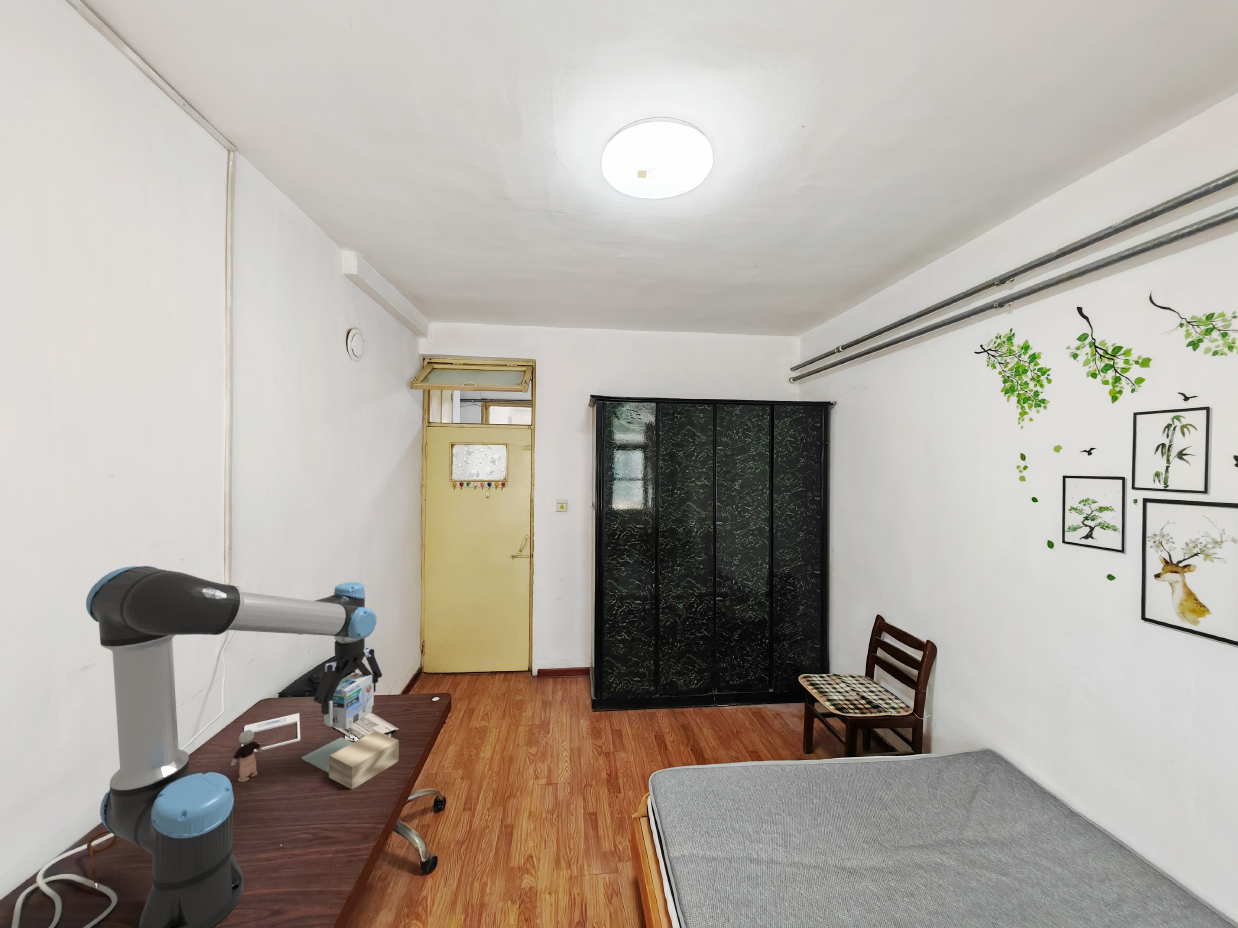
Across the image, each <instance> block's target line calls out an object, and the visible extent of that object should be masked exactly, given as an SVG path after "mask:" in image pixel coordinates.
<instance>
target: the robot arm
mask: <svg viewBox="0 0 1238 928" xmlns="http://www.w3.org/2000/svg"><path fill="white" fill-rule="evenodd" d="M365 592H366V591H365V586H364V584H362V583H361V582H358V581H357V582H355V581H353V582H352V581H351V582H343V583H340V584H338V585H336V586H335V587H334V592H333V594H332V595H330V596H327V597H323V598H319V599H316V600H309V599H301V598H300V599H299V598H294V597H286V596H285V597H284V596H275V595H268V594H260V593H253V592H245V591H241V590H240V589H239V587H238V586H236V585H232V584H224V583H220V582H215V581H212V580H208V579H204V578H202V577H198V576H195V575H192V574H188V573H184V572H181V571H173V570H167V569H161V568H158V567H156V566H152V565H151V566H149V565H142V566H139V565H132V566H125V567H120V568H118V569H115V570H113V571H110V572H109V573H106V574H105V575H104V576H103V577H101V578H100V579H99V580H98V581H97V582H96V583H95V584H94V585H93V586H92V587H91V589H90V590H89V591H88V594H87V597H86V598H85V599H86V601H85V607H86V611H87V613H88V615H89V616H90V618H92V620H93V621H94V622H96V623H98V629H99V641H100V642H99V644H100V647H102V648H104V649H107V650H109V651H111V652H112V662H113V663H112V665H113V678H114V679H113V680H114V694H115V710H116V711H115V712H116V723H117V724H116V725H117V726H116V728H117V740H118V757H119V769H118V770H117V771H116V772H115V773H114V774H113V775H112V776H111V778H110V780H109V790H108V791H107V792H106V793H104V795H103V798H102V800H101V803H100V809H99V815H100V820H101V822H102V824H103V825H104V827H105V828H106V830H109V831H110V832H111V833H110V834H112V835H113V836H114V835H116V836H118V837H117V838H122V839H123V840H125V841H127V842H129V843H130V844H133V845H135V846H137V847H139V848H141V849H143V850H145V851H146V852H148V853H149V854H151V857H152V886H151V887H150V888H151V889H150V891H149V894H148V897H147V899H146V901H145V904H144V906H143V909H142V911H141V913H140V914H141V915H140V918H139V923H138V924H139V927H138V928H213V927H215V926H216V925H218V924H219V923H220V922H221V921H223V919H225V918H226V917H227V916H229V914H230V913H231V912H232V911H233V910H234V909H235V908H236V906H237V905H238V904H239V902H240V900H241V898H242V896H243V893H244V874H243V872H242V869H241V868H240V866H239V864H238V862H237V860H236V858H235V856H234V854H233V824H234V822H233V819H234V817H233V816H234V815H233V813H234V810H233V809H234V804H235V803H234V802H235V799H234V798H235V797H234V792H233V786H232V783H231V781H230V779H229V778H228V777H227V776H226V775H224V774H221V773H218V772H213V771H210V772H209V771H208V772H206V773H202V772H198V773H194V774H191V772H190V769H191V767H190V757H189V755H190V754H189V753H188V752H187V751H185V750H182V749H179V735H178V717H177V716H178V714H177V700H176V683H175V681H176V680H175V664H174V647H173V646H174V644H173V643H174V642H173V638H174V637H175V636H178V635H179V636H187V635H191V636H193V635H205V636H206V635H213V636H219V635H221V634H224V633H226V632H227V631H237V632H258V633H275V634H276V633H277V634H278V633H279V634H296V635H308V636H309V635H311V636H313V635H314V636H329V637H334V640H335V641H334V655H335V658H334V661H333V662H326V663H324V664H323V667H322V674H321V678H320V680H319V683H318V686H317V688H316V690H315V691H316V692H315V695H314V698H313V702H314V703H317V704H320V708H321V714H322V715H323V716H324V717H323V721H324V722H323V723H324V725H326V726H327V725H328V726H327V727H329V726H332V725H333V701H330V700H331V698H332V696H333V694H334V692H335V690H336V689H337V687H338V685H339V683H340V681H341V680H342V679H344V678H345V677H346V675H347V674H349V673H351V672H352V671H357V670H358V671H359V672H360V674H364V675H366V676H369V675H372V707H373V706H374V702H375V701H374V699H375V698H374V696H375V695H374V694H375V693H376V691H377V688H376V686H377V683H379V679H380V678H382V676H383V673H382V671H381V668H380V667H379V664H378V661H377V658H376V656H375V649H373V648H371V647H366V646H365V645H366V644H365V643H366V641H365V639H366V638H367V637H369V636H370V635H371V634H372V633H373V632H374V630H375V629H376V625H377V622H378V621H377V615H376V613H375V611H374V610H372V609H371V608H368V607H367V608H366V604H365V603H366V596H365V595H366V593H365ZM365 647H366V648H365ZM364 658H365V659H366V661H367V663H368V666H369V668H370V669H369V668H368V667H367V666H366V664H365V663H364V662H363V660H364Z"/></svg>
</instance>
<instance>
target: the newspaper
mask: <svg viewBox="0 0 1238 928" xmlns="http://www.w3.org/2000/svg"><path fill="white" fill-rule="evenodd" d="M333 728H335V727H333ZM335 729H336V730H338V731H340V732H341V733H343V734H345V735H347V737H349V736H350V734H349V732H350V733H351V734H353V735H354V736H355V737H357V738H358V739H361V738H363V737H365V736H367V735H369V734H371V733H373V732H374V731H378V732H380V733H383V734H386V733H389V732H392V731H396V732H398V731H400V728H398V727H396V726H394V725H393V724H391V723H390V722H388V721H386V720H384V719H383V718H381V717H380V716H378V715H376V714H374V713H373V712H372V711H371V712H370V713H369V714H367V715H366V716H364V717H363V718H361V719H360V720H359V721H357V722H356V723H354V724H353V725H352V726H350V727H349V728H347V729H342V728H335Z"/></svg>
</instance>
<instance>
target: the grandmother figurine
mask: <svg viewBox="0 0 1238 928" xmlns="http://www.w3.org/2000/svg"><path fill="white" fill-rule="evenodd" d="M254 738H255V732H254V733H253V732H252V731H251V730H246V731H244V730H243V732H241V733H240V734H239V737H238V741H239V743H241V746H242V744H243V746H242V747H241V746H240V747H239V748H238V749H237V750H236V752H235V753H234V755H233V757H232V760H231V762H230V766H231V767H234V766H235V765H236V763H237V761H238V760H239V770H238V771H239V773H238V775H239V777H237V781H238V782H240V783H241V782H242V783H244V782H247V781H248V780H250V778H251V777H252V778H253V777H256V776H257V775H258V771H257V761H256V756H255V752H254V750H255V749H257V751H258V753H259V754H261V753H262V752H263V751H264V750H263V749H261V748H262V746H261V744H259V743H258V741H253V739H254Z"/></svg>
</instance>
